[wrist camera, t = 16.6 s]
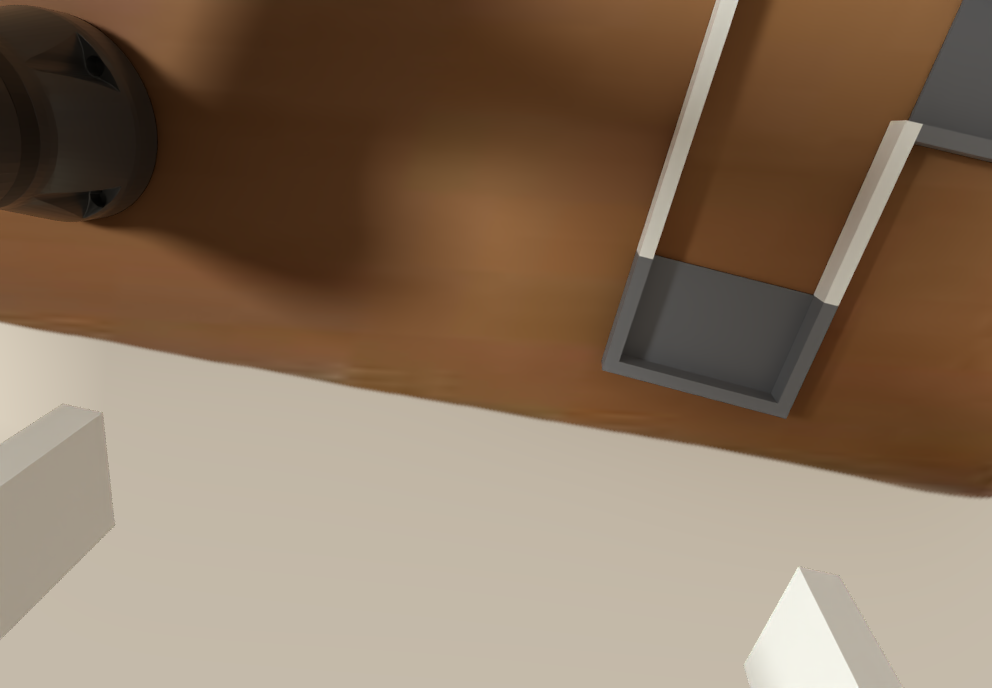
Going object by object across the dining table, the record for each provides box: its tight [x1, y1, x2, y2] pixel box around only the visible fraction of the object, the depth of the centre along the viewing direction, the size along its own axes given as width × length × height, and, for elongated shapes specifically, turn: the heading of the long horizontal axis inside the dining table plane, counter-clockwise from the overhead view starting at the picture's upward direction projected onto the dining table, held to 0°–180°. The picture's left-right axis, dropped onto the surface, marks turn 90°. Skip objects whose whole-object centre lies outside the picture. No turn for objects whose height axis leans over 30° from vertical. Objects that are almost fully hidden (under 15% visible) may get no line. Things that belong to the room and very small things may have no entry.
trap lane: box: [602, 0, 992, 419], centre depth 36 cm, size 23×42×3 cm, turn 167°
